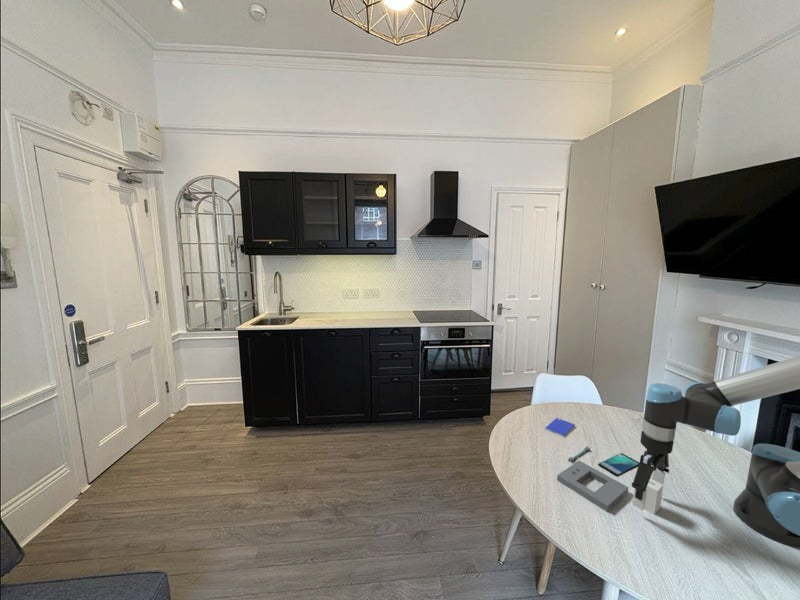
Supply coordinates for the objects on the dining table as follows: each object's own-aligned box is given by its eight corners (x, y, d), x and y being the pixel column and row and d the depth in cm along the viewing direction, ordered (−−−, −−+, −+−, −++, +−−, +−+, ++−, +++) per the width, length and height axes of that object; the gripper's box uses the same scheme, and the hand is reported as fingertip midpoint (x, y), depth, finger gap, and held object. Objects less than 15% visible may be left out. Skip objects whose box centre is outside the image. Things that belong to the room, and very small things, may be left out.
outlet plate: (627, 492, 104) (628, 486, 103) (607, 511, 96) (607, 505, 96) (578, 465, 117) (579, 459, 117) (557, 480, 110) (557, 474, 109)
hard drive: (556, 417, 149) (544, 427, 140) (575, 424, 143) (564, 435, 134) (556, 420, 149) (544, 430, 141) (574, 427, 143) (563, 438, 135)
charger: (660, 508, 98) (663, 484, 96) (654, 514, 95) (657, 490, 94) (642, 498, 101) (645, 475, 100) (636, 504, 99) (639, 480, 98)
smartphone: (596, 463, 117) (621, 452, 124) (596, 465, 118) (621, 454, 124) (616, 476, 111) (641, 463, 117) (616, 477, 111) (641, 465, 117)
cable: (589, 450, 126) (589, 448, 126) (571, 462, 119) (571, 460, 119) (586, 448, 127) (586, 446, 127) (568, 460, 120) (568, 458, 120)
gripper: (658, 417, 104) (650, 474, 108) (624, 442, 91) (615, 506, 95) (688, 428, 98) (677, 489, 102) (655, 456, 85) (645, 525, 88)
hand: (647, 497), depth 98 cm, fingers open, 13 cm apart
